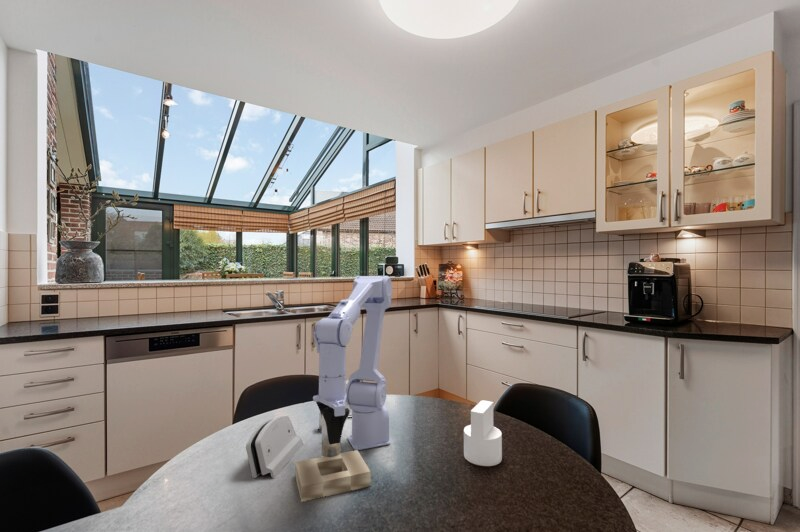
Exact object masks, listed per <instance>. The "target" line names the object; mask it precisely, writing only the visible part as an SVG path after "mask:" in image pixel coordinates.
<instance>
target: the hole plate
mask: <svg viewBox="0 0 800 532" xmlns="http://www.w3.org/2000/svg"><path fill="white" fill-rule="evenodd" d="M294 464H295V465H294V471H295V472H294V475H295V476H294V477H295V480H296V485H297V489H298V493H299V498H301V499H300V502H301V503H304V502H308V501H307V500H309V501H311V499H313V500H316V499H315V498H317V499H320V498H319V497H321V498H325V496H326V497H330V496H333V495H338V494H343V493H345V492H346V491H347V492H350V491H351V490H352V491H355V490H361V489H364V488H368V487H371V482H372V481H371V472H372V471H371V470H370V467H368V465H367V463H366V461H365V460H364V459H363V457H362V455H361V453H360V452H359V450H351V451H346V452H341V453H340V454H339V455H338V456H335V457H324V456H319V457H315V458H314V457H313V458H308V459H305V460H304V459H303V460H298V461H295V463H294ZM352 491H351V492H352ZM347 492H346V493H347ZM303 501H304V502H303Z"/></svg>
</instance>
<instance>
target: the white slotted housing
mask: <svg viewBox="0 0 800 532" xmlns="http://www.w3.org/2000/svg"><path fill="white" fill-rule="evenodd" d="M302 445H303V446H304V442H303V438H302V437H301V436H299V435H297V434H296V431H295V428H294V426H293V423H292V421H291V419H290V417H289V416H288V415H283V416H277V417H275V418H271V419H269V420H267V421H265V422H264V423H262V424H261V425H259V426H258V427H257V428H256V429H255V430H254V431H253V433H251V435H250V437H249V439H248V441H247V442H246V445H245V451H246V454H247V455H246V456H247V460H248V463H249V468H250V472H251V477H252V478H257V477H258V476H260V475H262V476H265V475H267V474H270V476H271V478H272V479H276V478H277V476H278V475H279V474H280V472H282V470H283V469H284V468H285V466H287V465H288V464H289V462H290V461H291V460H292V458H293V457H294V456H295V455H296V454H297V453H298V452H297V451H299V450H300V449H301V448H302V447H303V446H302Z"/></svg>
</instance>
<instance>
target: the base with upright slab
mask: <svg viewBox="0 0 800 532" xmlns="http://www.w3.org/2000/svg"><path fill="white" fill-rule="evenodd" d="M502 442H503V433H502V431H501V430H500V429H499V428H497V427H496V426H494V402H493V401H489V400H484V399H483V400H480V401H479V402H477V404H476V405H475V406H474V407H473V408H472V409H471V410H470V424H468V425H466V426H464V428H463V457H464V458H465V460H467V462H469V463H471V464H473V465H476V466H482V467H492V466H497V465H498V464H500V463H501V462H502V460H503V449H502V448H503V447H502V446H503V443H502Z"/></svg>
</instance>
